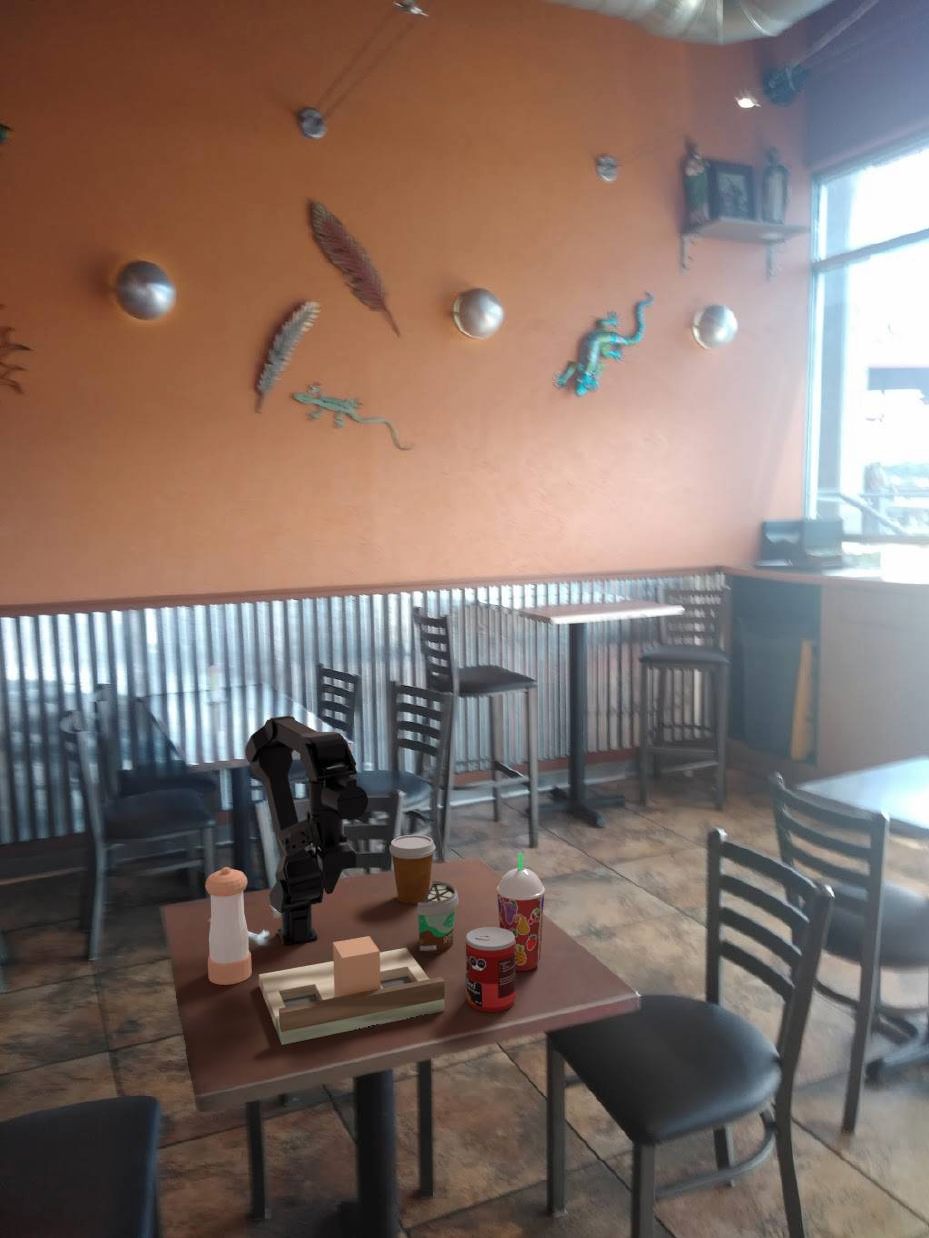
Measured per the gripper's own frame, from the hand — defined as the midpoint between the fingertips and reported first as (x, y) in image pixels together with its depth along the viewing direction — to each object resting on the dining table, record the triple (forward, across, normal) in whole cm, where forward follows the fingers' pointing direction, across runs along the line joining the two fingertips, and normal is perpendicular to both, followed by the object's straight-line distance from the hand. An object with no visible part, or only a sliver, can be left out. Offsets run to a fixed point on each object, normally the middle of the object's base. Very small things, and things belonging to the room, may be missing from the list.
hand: (329, 892), depth 170 cm
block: (+11, +18, 0) cm, 21 cm away
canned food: (+14, +23, +21) cm, 34 cm away
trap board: (+13, +13, 0) cm, 18 cm away
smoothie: (+13, +13, +31) cm, 36 cm away
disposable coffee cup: (+13, -23, +23) cm, 35 cm away
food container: (+13, 0, +21) cm, 25 cm away
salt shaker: (+13, -3, -17) cm, 22 cm away
